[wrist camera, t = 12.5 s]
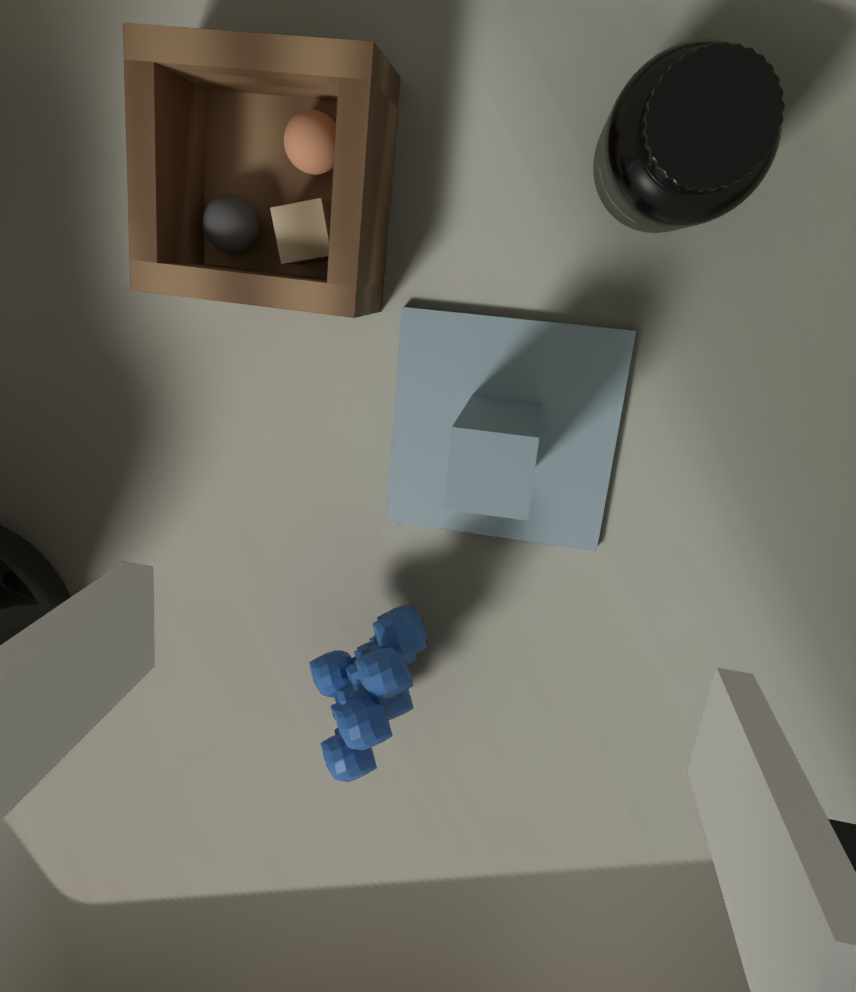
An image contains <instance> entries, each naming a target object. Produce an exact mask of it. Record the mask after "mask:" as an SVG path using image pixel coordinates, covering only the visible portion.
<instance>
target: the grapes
mask: <svg viewBox="0 0 856 992" xmlns="http://www.w3.org/2000/svg"><path fill="white" fill-rule="evenodd" d="M377 618H378V621H376V622H375V623H373V627H374V631H375V636H374V637H372V638H370V642H369V643H366V644H364V645H362V646H360V647H358V648H357V649H358V650H356V651H355V652H354V653H355V657H353V658H351V656H350V655H349V654H348V653H347V652H344V651H342V650H335V651H332V652H328V653H326V654H324V655H322V656H320V657H318V658H316V659H314V660H312V661H311V662H309V664H310V668H311V673H312V677H313V681H314V683H315V685H316V686H317V688H318V690H319V691H320V693H321V694H322V695H323V696H327V697H335V700H336V704H333V705H331V709H332V713H333V717H334V718H335V720H336V722H337V726H338V728H337V729H335V734H336V735H334V736H332V737H330V738H328V739H327V740H325V741H323V742H322V743H321V746H322V751H323V755H324V759H325V763H326V766H327V768H328V770H329V771H330V773H331V775H332V776H333V778H334V779H335V780H338V781H343V782H350V781H353V780H355V779H358V778H360V777H362V776H364V775H366V774H368V773H369V772H371V771H373V770H374V769H376V768H377V767H376V763H375V759H374V755H373V751H372V746H375V745H377V744H379V743H381V742H383V741H385V740H387V739H388V738H390V737H392V732H391V728H390V724H389V721H388V720H391V719H393V718H396V717H398V716H400V715H403V714H405V713H406V712H408V711H410V710H411V709H413V704H412V700H411V697H410V693H409V690H408V689H409V688H411V687H412V686H413V682H412V678H411V674H410V671H409V668H408V665H409V664H411V663H412V662H414V661H416V660H417V657H416V654H417V653H419V652H421V651H422V650H424V649H426V648H427V644H426V640H428V638H427V634H426V630H425V627H424V624H423V621H422V619H421V617H420V614H419V613H418V612H417V611H416V610H415V609H414V608H412V607H410V606H402V607H398V608H394V609H392V610H390V611H388V612H386V613H384V614H383V615H381V616H379V617H377Z"/></svg>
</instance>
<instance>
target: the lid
mask: <svg viewBox="0 0 856 992" xmlns="http://www.w3.org/2000/svg"><path fill="white" fill-rule="evenodd" d="M635 335H636V331H635V330H628V329H618V328H609V327H599V326H589V325H579V324H570V323H560V322H550V321H541V320H531V319H521V318H511V317H502V316H492V315H482V314H473V313H463V312H453V311H443V310H434V309H424V308H414V307H405V306H404V307H402V316H401V329H400V342H399V356H398V369H397V382H396V395H395V409H394V422H393V435H392V449H391V462H390V475H389V489H388V502H387V515H386V521H389V522H396V523H403V524H410V525H417V526H424V527H431V528H438V529H445V530H452V531H459V532H466V533H473V534H480V535H487V536H494V537H501V538H508V539H515V540H522V541H529V542H536V543H543V544H550V545H556V546H563V547H570V548H577V549H584V550H591V551H597V546H598V541H599V535H600V530H601V524H602V519H603V513H604V507H605V502H606V496H607V491H608V485H609V480H610V474H611V469H612V463H613V457H614V452H615V446H616V441H617V435H618V430H619V424H620V418H621V413H622V407H623V402H624V396H625V391H626V385H627V380H628V374H629V368H630V363H631V357H632V352H633V346H634V341H635Z"/></svg>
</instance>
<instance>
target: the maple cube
mask: <svg viewBox="0 0 856 992" xmlns="http://www.w3.org/2000/svg"><path fill="white" fill-rule="evenodd" d="M331 204H332V201H329V200H326V199H323V198H318V199H313V200H308V201H302V202H297V203H292V204H287V205H282V206H277V207H271V208H270V210H271V215H272V220H273V225H274V230H275V235H276V240H277V245H278V250H279V255H280V260H281V264H298V265H299V264H305V263H311V262H316V261H322V260H328V256H329V239H330V221H331Z"/></svg>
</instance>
